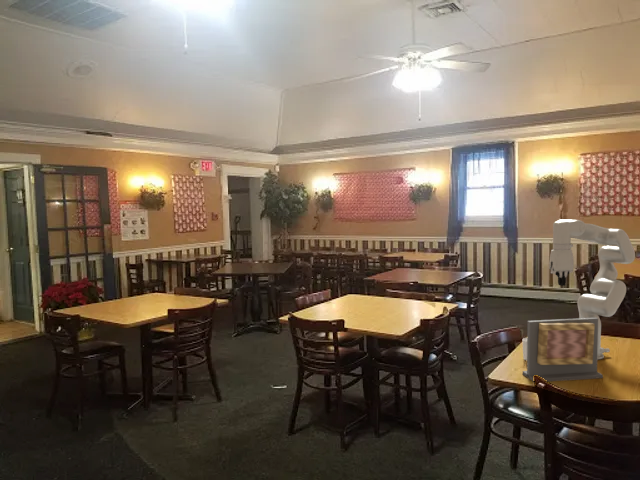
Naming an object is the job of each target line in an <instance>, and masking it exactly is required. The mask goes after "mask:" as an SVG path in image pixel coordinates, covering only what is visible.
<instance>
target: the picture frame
mask: <svg viewBox="0 0 640 480" xmlns="http://www.w3.org/2000/svg"><path fill="white" fill-rule="evenodd" d="M594 327H595V324H593V323H590V322H589V323H539V335H538V357H537V363H538V364H540V365H563V364H592V363H593V345H594Z"/></svg>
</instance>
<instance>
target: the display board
mask: <svg viewBox="0 0 640 480" xmlns="http://www.w3.org/2000/svg"><path fill="white" fill-rule="evenodd" d="M589 322H590V323H593V324H595V327H594V345H593V363H592V364H563V365H540V364H538V363H537V357H538V335H539V323H589ZM526 323H527V324H526V325H527V333H526V334H527V335H526V338H527V361H526V370H522V375H523V376H524V377H526V378H528V379H529V380H530V381H531V380H532V382H533V376H534V375H538V376H540V377H542V378H544V379H545V380H547V381H546V382H558V381H560V382H561V381H576V380H594V379H595V380H596V379H603V377H604V376H603V374H602V373H601V372H598V360H597V349H598V318H579V317H578V318H560V319H559V318H558V319H541V320H536V319H535V320H527V322H526Z"/></svg>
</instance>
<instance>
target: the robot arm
mask: <svg viewBox="0 0 640 480" xmlns="http://www.w3.org/2000/svg"><path fill="white" fill-rule="evenodd" d="M572 239H577V240H581V241H586V242H590V243H593V244H594V243H595V244H597V245H598V244H599V245H601V247H600V248H599V250H598V252H597V256H598V263H599V270H598V272H597V274H596V275H595V277H594V279H593V281H592V282H591V283H590V287H589V291H590V293H583V294H581V295H579V297H578V299H577V302H576V303H577V308H578V314H579V317H578V318H598V349H597V361H598V360H603V359H604V357H605V356H604V354H605V353H610V351H611V350H610V348H604V347H601V346H602V345H601V344H602V341H601V340H602V337H601V336H602V335H601V334H602V321H601V319H600V316H602V317H606V318H608V317H609V318H610V317H613V315H615V314H616V312H617V311H618V309H619V307H620V305H621V303H622V302H623V301H624V298H625V296H626V295H627V294H626V293H627V286H626V284H625V283H624V282H623V281H622V280H619V279H617V278H618V275H619V274H618V269H617V268H616V267H615V266H616V265H615V263H616V264H622V265H623V264H624V265H628V264H629V265H630V264H631V263H633V262H634V261H635V259H636V252H635V249H634V246H633V244H632V241H631V240H630V237H629V235H628V234H627V232H626V231H625V230H624V229H622V228H608V227H603V226H599V225H598V224H594V223H593V224H592V223H585V222H584V221H583V220H580V219H558V220H556V221H554V222H553V223H552V249H551V251H550V254H549V262H548V264H549V265H548V269H549V271H550V274H553V275H556V277H557V283H558V285H559V286H562V287H564V286H565V287H566V283H567V277H568V276H569V274H572V273H574V266H575V265H574V264H575V263H574V262H575V261H574V253H573V250H572V248H573V247H574V245H573V244H572V242H571V241H572Z"/></svg>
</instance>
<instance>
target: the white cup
mask: <svg viewBox="0 0 640 480" xmlns="http://www.w3.org/2000/svg"><path fill="white" fill-rule="evenodd" d="M522 357H523V360H524V361H526V362H527V337H523V338H522Z"/></svg>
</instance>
